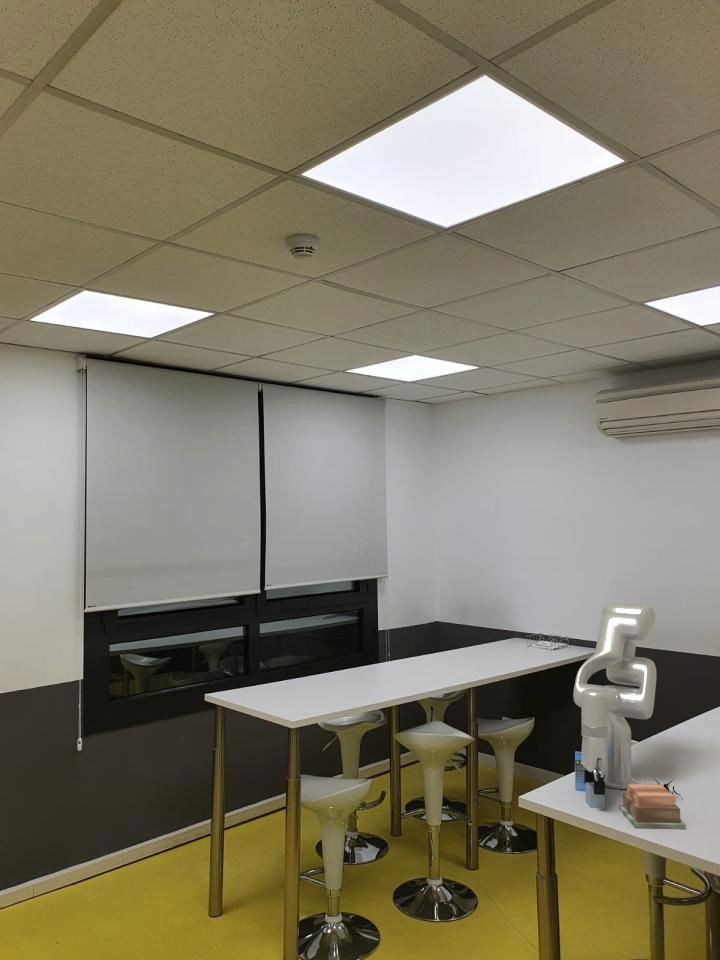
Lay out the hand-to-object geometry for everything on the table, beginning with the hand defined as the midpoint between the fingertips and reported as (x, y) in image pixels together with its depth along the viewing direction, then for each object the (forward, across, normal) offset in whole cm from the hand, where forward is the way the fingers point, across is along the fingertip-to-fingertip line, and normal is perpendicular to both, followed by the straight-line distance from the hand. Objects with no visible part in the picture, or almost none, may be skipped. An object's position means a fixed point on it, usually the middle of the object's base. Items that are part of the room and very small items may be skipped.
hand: (594, 789), depth 222 cm
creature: (+5, -8, +26) cm, 27 cm away
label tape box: (+5, -14, +3) cm, 15 cm away
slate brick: (+5, -1, +1) cm, 5 cm away
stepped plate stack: (+5, +9, +14) cm, 17 cm away
